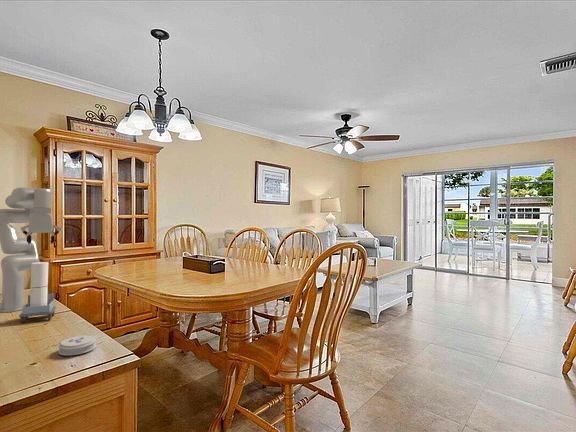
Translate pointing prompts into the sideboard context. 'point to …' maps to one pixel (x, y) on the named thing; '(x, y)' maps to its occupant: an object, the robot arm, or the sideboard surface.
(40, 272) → the cylindrical container
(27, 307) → the grey open box
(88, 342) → the lid
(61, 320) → the sideboard surface
